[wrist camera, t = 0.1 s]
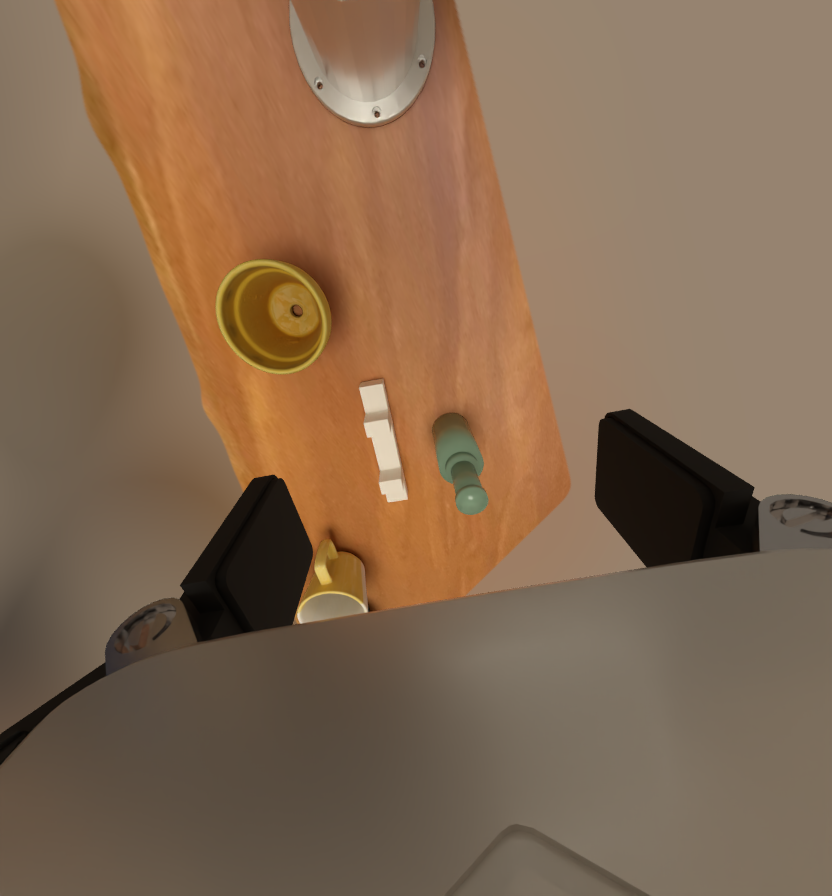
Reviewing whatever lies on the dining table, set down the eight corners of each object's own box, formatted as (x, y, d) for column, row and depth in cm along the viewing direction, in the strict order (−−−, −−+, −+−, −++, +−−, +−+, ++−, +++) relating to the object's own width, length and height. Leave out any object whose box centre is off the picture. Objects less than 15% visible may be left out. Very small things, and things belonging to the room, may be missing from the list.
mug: (373, 584, 64) (368, 638, 55) (315, 584, 63) (301, 639, 54) (371, 524, 58) (366, 574, 48) (307, 524, 57) (289, 575, 48)
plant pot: (355, 287, 41) (343, 294, 33) (324, 367, 46) (306, 391, 37) (266, 241, 39) (228, 235, 30) (242, 329, 43) (203, 346, 34)
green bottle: (429, 416, 49) (442, 484, 34) (467, 410, 49) (496, 475, 34) (435, 449, 52) (449, 526, 37) (470, 443, 51) (499, 518, 36)
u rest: (360, 382, 47) (356, 395, 42) (383, 378, 46) (381, 391, 42) (388, 493, 55) (387, 515, 50) (407, 490, 55) (408, 511, 50)
